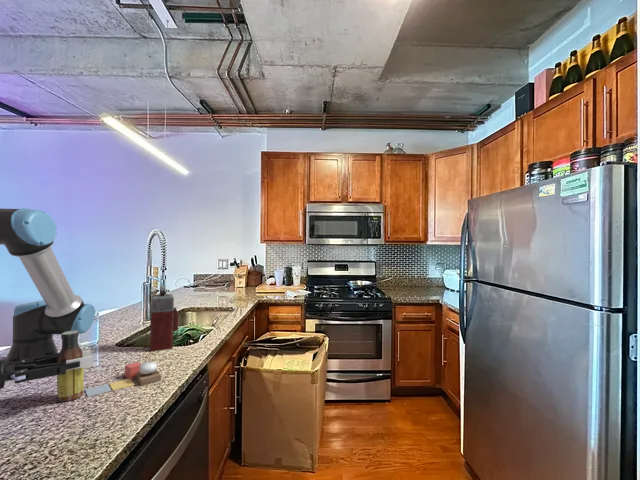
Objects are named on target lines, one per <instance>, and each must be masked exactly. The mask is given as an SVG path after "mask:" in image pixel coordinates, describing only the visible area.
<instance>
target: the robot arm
mask: <svg viewBox="0 0 640 480" xmlns="http://www.w3.org/2000/svg"><path fill="white" fill-rule="evenodd" d="M57 230H58V229H57V225H56V222H55V220H54V219H53V217H52V216H51V215H49V213H47V212H45V211H43V210H41V209H32V208H0V245H1V246H2V245H3V246H5V248H6V249H7V251H8V253H9V255H11V256H13V257H17V258H19V260H20V262H21V263H22V266H23V267H24V268H25V270H26V272H27V274H28V275H29V277H30V279H31V281H32V282H33V284H34V286H35V288H36V289H37V291H38V293H39V295H40V297H41V298H42V300H39V301H32V302H31V301H30V302H26V303H22V304H18V305H17V306H15V307H14V309H13V315H12V343H11V344H12V345H11V346H10V349H9V351H8V353H7V356H6V358H5V359H0V390H1V389H4V387H5V385H6V382H10V381H14V384H15V385H18V384H21V383H24V382H28V381H33V380H39V379H43V378H50V377H54V376H56V377H57V375H61V374H62V375H64V374H66V371H67V370H72V369H77V368H82V367H83V368H85V367H92V366H94V359H95V358H94V357H95V355H92V354H91V353H92V350H91V349H88V350H87V349H86V350H82V353H83V358H78V359H72V360H67V361H66V362H62V363H57V357H58V354H59V353H60V352H58V351H59V350H58V349H57V345H56V343H55V341H54V338H53V337H54V336H53V335H58V336H59V335H61V334H62V333H64V332H67V331H78V333H79V335H82V334H84V333H87V332H88V331H89V330H90V328H91V327H92V325H93V324H94V320H95V316H96V309H95V306H94V305H93V304H90V303H86V304H85V302H84V301H83V299H82V298H81V296H80V295H78V294H74V292H73V290H72V288H71V285H70V284H69V281H68V279H67V278H66V274H65V273H64V271H63V269H62V267H61V266H60V263H59V261H58V260H57V258H56V255H55V253H54V251H53V249H52V246H53V245H54V241H55V239H56V238H57Z"/></svg>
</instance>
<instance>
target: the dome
mask: <svg viewBox="0 0 640 480" xmlns="http://www.w3.org/2000/svg"><path fill="white" fill-rule="evenodd" d="M157 364H158V363H157V362H156V361H146V362H143V363H141V365H140V373H141V374H149V373H153V372H155V371H156V370H157V369H158V365H157ZM157 371H158V370H157Z"/></svg>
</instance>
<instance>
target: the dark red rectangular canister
mask: <svg viewBox="0 0 640 480" xmlns="http://www.w3.org/2000/svg"><path fill="white" fill-rule="evenodd" d="M166 287H167V286H166V285H161V284H160V285H159V294H152V295H151V296H150V323H149V324H150V325H149V326H150V331H149V352H151V353H152V352H156V351H157V352H159V351H164V350H165V351H166V350H172V349H173V345H174V344H173V343H174V332H178V331H179V313H178V309H177V307H175V306H174V305H175V302H174V301H175V297H174V295H173V294H172V293H167V294H166V291H167V290H166Z"/></svg>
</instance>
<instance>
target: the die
mask: <svg viewBox="0 0 640 480" xmlns="http://www.w3.org/2000/svg"><path fill="white" fill-rule="evenodd" d="M141 364H142V363H140V362H138V361H135V362H132V363H129V364H125V365H124V377H125V378H127V379H131V380H132V379H136V378H135V372H139V371H140V365H141Z"/></svg>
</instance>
